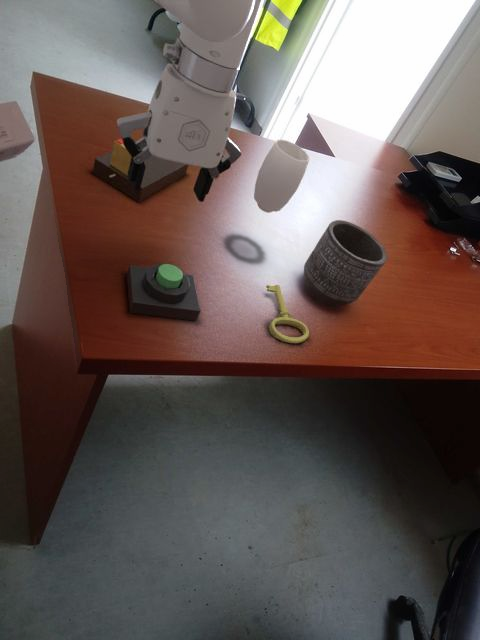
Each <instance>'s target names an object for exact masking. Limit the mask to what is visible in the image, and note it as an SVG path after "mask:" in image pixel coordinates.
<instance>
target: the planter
mask: <svg viewBox="0 0 480 640" xmlns="http://www.w3.org/2000/svg"><path fill="white" fill-rule="evenodd" d="M387 260H388V254H387V251H386V249H385V247H384V245H383V244H382V243H381V242H380V241H379V240H378V239H377V237H375V236H374V235H373V233H370V232H369V231H367V230H366V229H364V228H363V227H362V226H359V225H357V224H355V223H353V222H350V221H347V220H342V219H337V220H336V219H335V220H333V221H331V222H330V223H329V224H328V226H327V227H326V229H325V231H324V232H323V234H322V235H321V237H320V238H319V239H318V242H317V243H316V245H315V247H314V249H313V250H312V251H311V253H310V254H309V256H308V258H307V259H306V261H305V263H304V266H303V281H304V289H305V291H306V293H307V294H308V296H309V297H310V298H311V299H312V300H313V301H315V302H316V303H317V304H319V305H321V306H323V307H326V308H328V309H329V308H330V309H335V308H340V307H343V306H346V305H349V304H351V303H354V302H355V301H357V300H358V299H359V298H360V297H361V295H362V294H363V293H364V292H365V290H366V289H367V287H368V286H369V285H370V283H371V282H372V281H373V280H374V278H375V277H376V275H377V274H378V273H379V271H381V269H382V268H383V266H384V265H385V264H386V262H387Z"/></svg>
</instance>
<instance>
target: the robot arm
mask: <svg viewBox="0 0 480 640" xmlns="http://www.w3.org/2000/svg"><path fill="white" fill-rule="evenodd" d="M153 1H154V2H155V3H156V4H158V5H159V6H160V7H161V8H162V9H164V10H166V11H167V12H168V13H169V14H171V15H172V16H173V17H175V19H177V20H178V21H179V22H181V23H182V25H181V29H180V33H179V37H178V36H177V37H176V41H175V42H174V43H171V44H170V43H167V42H165V43H164V45H163V49H162V51H163V52H162V54H163V57H164V58H165V57H166V58H168V59H169V61H171V62H172V63H167V64H166V65H165V66H164V69H163V71H162V73H161V75H160V77H159V80H158V82H157V84H156V86H155V89H154V92H153V94H152V97H151V100H150V103H149V106H148V108H147V111H145V112H140V113H136V114H133V115H132V114H131V115H128V116H122V117H119V118H118V119H116V124H117V125H116V126H117V128H118V131H119V135H120V137H121V138H122V141H123V144H124V146H125V148H126V149H127V151H128V152H129V154H130V155H131V156H132V157H131V161H130V165H129V169H128V180H129V181H131V184H132V186H133V189H134V191H138V190H140V187H141V184H142V180H143V176H144V172H145V168H146V166H145V163H144V161H145V160H147V159H148V158H150V157H151V156H152V155H154V156H155V157H157V158H160V159H164V160H168V161H173V162H178V163H182V164H187V165H188V166H192V167H198V168H199V172H198V174H197V177H196V179H195V183H194V186H193V192H194V194H195V196H196V199H197V200H198V201H199V202H200V203H203V202H204V201H205V199H206V196H207V195H208V194H209V193H210V190H211V187H212V185H213V182H214V180H217V179H218V178H219V177H220V174H222V173H224V172H225V171H227V170H229V169H231V167H232V166H231V165H233V164H235V162H236V161H237V160H238V159H239V158H240V157H241V156H242V151H241V150H240V149H239V147H238V146H237V145H236V144H235V143H234V142H233V141H232V140H231V138H230V137H229V135H230V131H231V127H232V123H233V117H234V115H235V114H234V113H235V107H236V102H237V93H236V92H235V91H234V90H233V87H234V84H235V82H236V80H237V76H238V74H239V71H240V67H241V65H242V63H243V59H244V56H245V53H246V51H247V48H248V45H249V43H250V40H251V37H252V35H253V32H254V28H255V26H256V23H257V21H258V18H259V14H260V12H261V9H262V7H263V3H264V0H153ZM140 129H142V136H143V137H141V138H139V139H138V140H136V141H135V140H134V139H133V137H132V132H133V131H136V130H140ZM121 138H120V139H121ZM225 150H226V152H225V154H224V151H225ZM223 154H224V155H223Z"/></svg>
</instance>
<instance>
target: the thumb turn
mask: <svg viewBox="0 0 480 640" xmlns="http://www.w3.org/2000/svg"><path fill="white" fill-rule="evenodd" d="M111 152H112V156H111V161H110V165H112V166H113V167H115V168H116V169H118V170H120V171H121V172H123V173H124V174H126V175H127V176H128V169H129V165H130V161H131V157H132V156H131V155H130V154H129V152H128V151H127V149H126V148H125V146H124V144H123V141H122V138H119V139H115V140H114V141H113V146H112V151H111Z"/></svg>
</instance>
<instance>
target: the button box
mask: <svg viewBox="0 0 480 640" xmlns="http://www.w3.org/2000/svg"><path fill="white" fill-rule="evenodd" d="M161 265H163V263H156V264H153V265H150V266H149V267H145V266H140V265H134V264H129V266H128V270H127V273H126V281H127V295H128V309H129V313H130V314H137V315H145V316H153V317H162V318H170V319H177V320H186V321H193V322H196V321H197V320H198V318H199V316H200V313H201V307H200V302H199V297H198V293H197V288H196V283H195V277H194V275H192V274H188V273H184V272H183V271H182V270H181V272H182V274H183V277H182V280H181V282H180V285H179V287H178V288H176V289H168V288H165V287H163V286H161V285H159V284H158V283H157V281H156V274H157V272H158V269H159V267H160V266H161Z"/></svg>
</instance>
